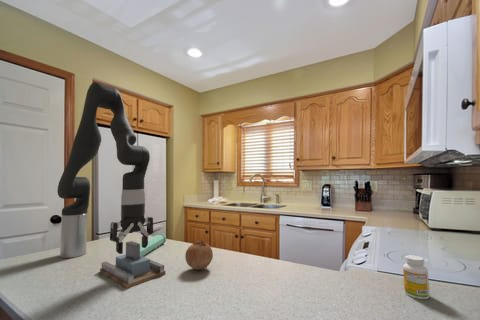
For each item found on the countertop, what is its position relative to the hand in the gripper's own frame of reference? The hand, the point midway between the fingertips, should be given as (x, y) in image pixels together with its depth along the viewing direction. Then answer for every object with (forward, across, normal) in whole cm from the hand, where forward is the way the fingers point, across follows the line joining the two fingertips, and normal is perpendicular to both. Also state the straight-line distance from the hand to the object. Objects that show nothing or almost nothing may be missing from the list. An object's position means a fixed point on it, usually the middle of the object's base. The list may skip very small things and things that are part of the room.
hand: (132, 250), depth 83 cm
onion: (+8, -16, +16) cm, 24 cm away
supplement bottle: (+8, -40, +76) cm, 86 cm away
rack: (+8, 0, 0) cm, 8 cm away
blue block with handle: (+7, 0, 0) cm, 7 cm away
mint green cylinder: (+8, -16, -18) cm, 25 cm away
